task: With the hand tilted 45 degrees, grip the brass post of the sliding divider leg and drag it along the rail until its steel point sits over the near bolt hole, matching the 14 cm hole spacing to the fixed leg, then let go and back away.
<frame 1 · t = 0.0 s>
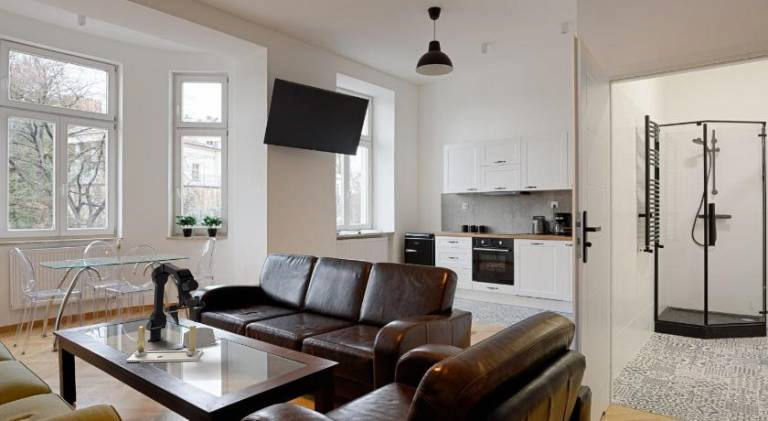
hand: (186, 323, 235), 15 cm above the table, tool pointing down, fingers open, 9 cm apart
hinge: (199, 344, 253), on the table
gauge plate: (166, 356, 231), on the table
divider leg: (140, 341, 227), point 8 cm above the table, slide at -10.0 cm
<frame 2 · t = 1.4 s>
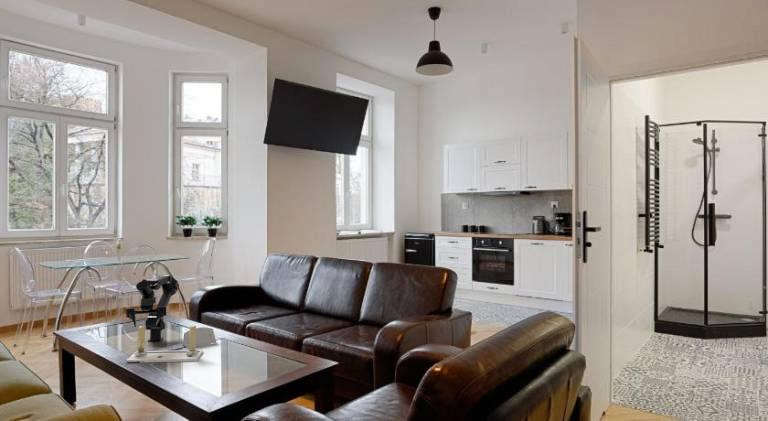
hand: (145, 326, 236), 13 cm above the table, tool tilted 45°, fingers open, 9 cm apart
nothing on the table moved.
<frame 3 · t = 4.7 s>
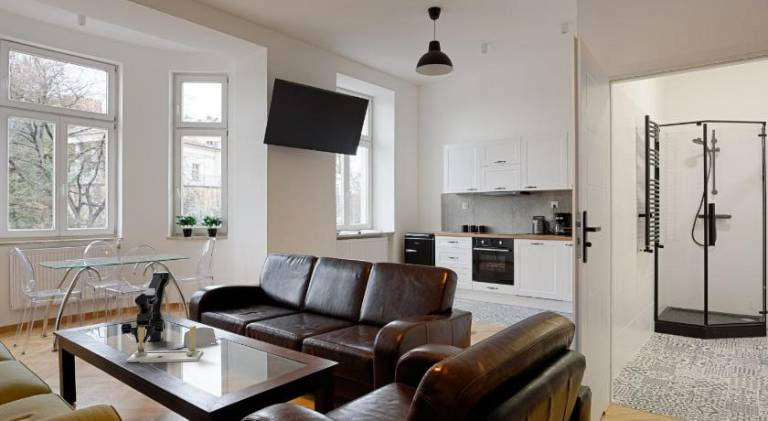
hand: (140, 342, 227), 8 cm above the table, tool tilted 45°, fingers closed on divider leg, 3 cm apart
divider leg: (140, 341, 227), point 8 cm above the table, slide at -10.0 cm, touching gripper
everything else where it was.
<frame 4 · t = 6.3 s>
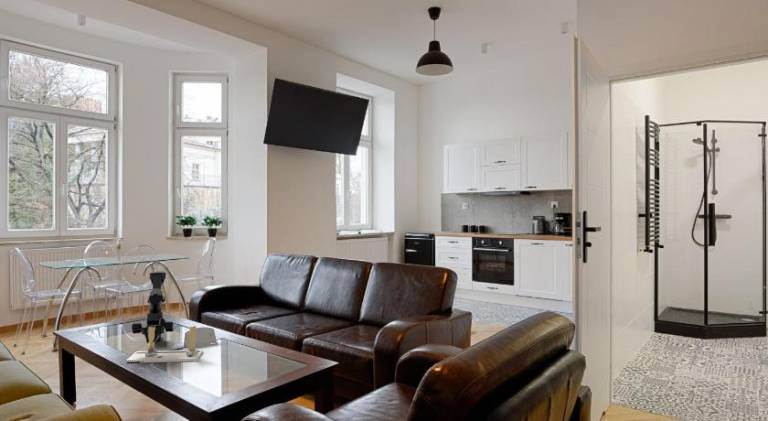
hand: (151, 342, 228), 8 cm above the table, tool tilted 45°, fingers closed on divider leg, 3 cm apart
divider leg: (150, 341, 228), point 8 cm above the table, slide at -5.3 cm, touching gripper
everything else where it was.
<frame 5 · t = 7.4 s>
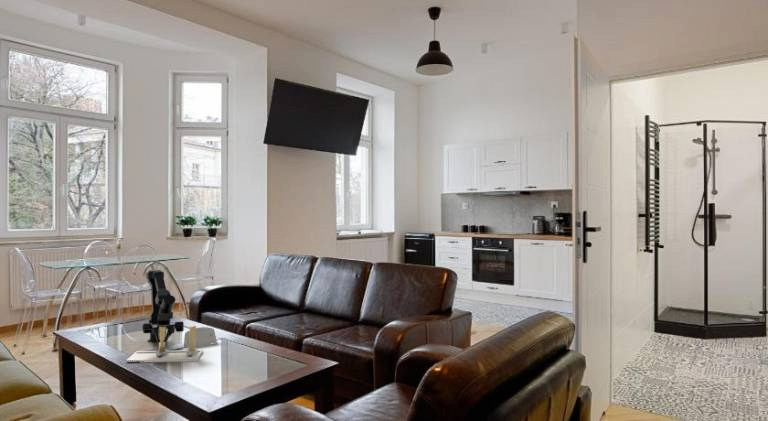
hand: (161, 342, 229), 8 cm above the table, tool tilted 45°, fingers closed on divider leg, 3 cm apart
divider leg: (161, 340, 229), point 8 cm above the table, slide at -0.3 cm, touching gripper
everything else where it was.
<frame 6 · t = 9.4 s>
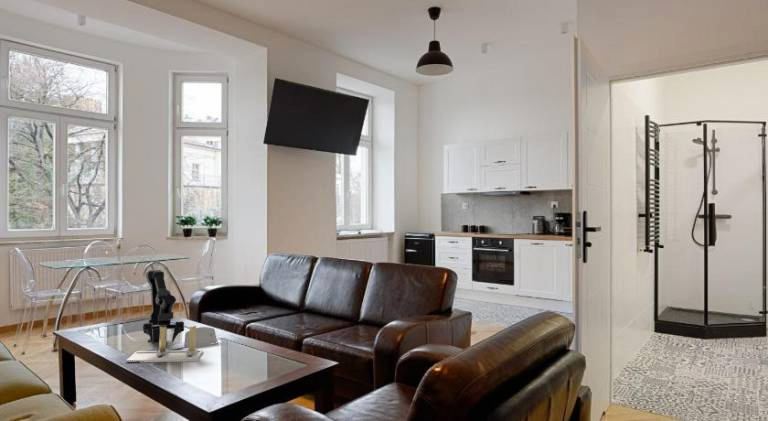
hand: (162, 342, 229), 8 cm above the table, tool tilted 45°, fingers open, 9 cm apart
divider leg: (162, 340, 229), point 8 cm above the table, slide at -0.1 cm
everything else where it was.
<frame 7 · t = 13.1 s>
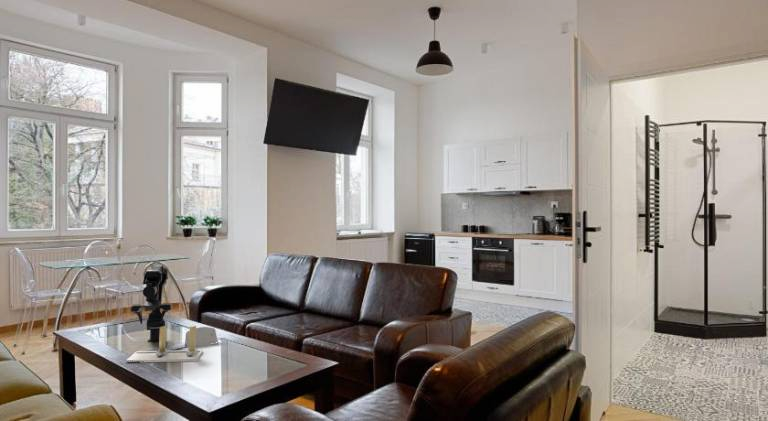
hand: (151, 323, 243), 13 cm above the table, tool pointing down, fingers open, 9 cm apart
at the end: divider leg slide at -0.1 cm; the gripper is holding nothing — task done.
